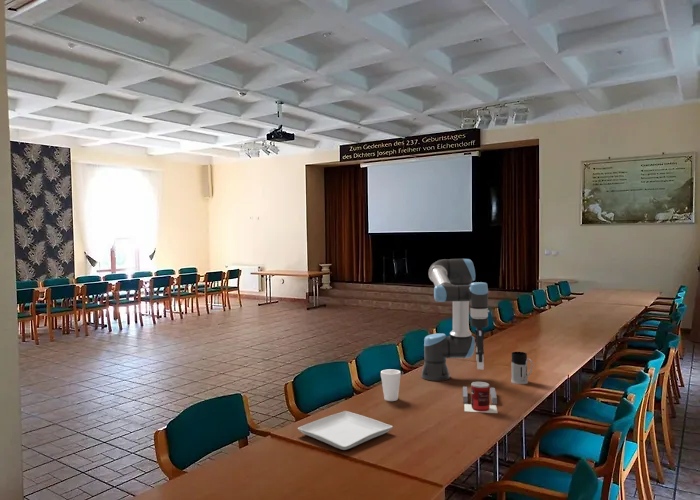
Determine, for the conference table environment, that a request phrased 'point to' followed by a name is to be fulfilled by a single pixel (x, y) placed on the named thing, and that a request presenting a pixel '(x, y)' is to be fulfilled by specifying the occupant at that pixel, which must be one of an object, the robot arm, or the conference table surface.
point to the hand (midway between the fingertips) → (479, 365)
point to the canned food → (480, 396)
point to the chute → (469, 409)
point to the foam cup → (390, 384)
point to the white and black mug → (520, 368)
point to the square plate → (345, 429)
